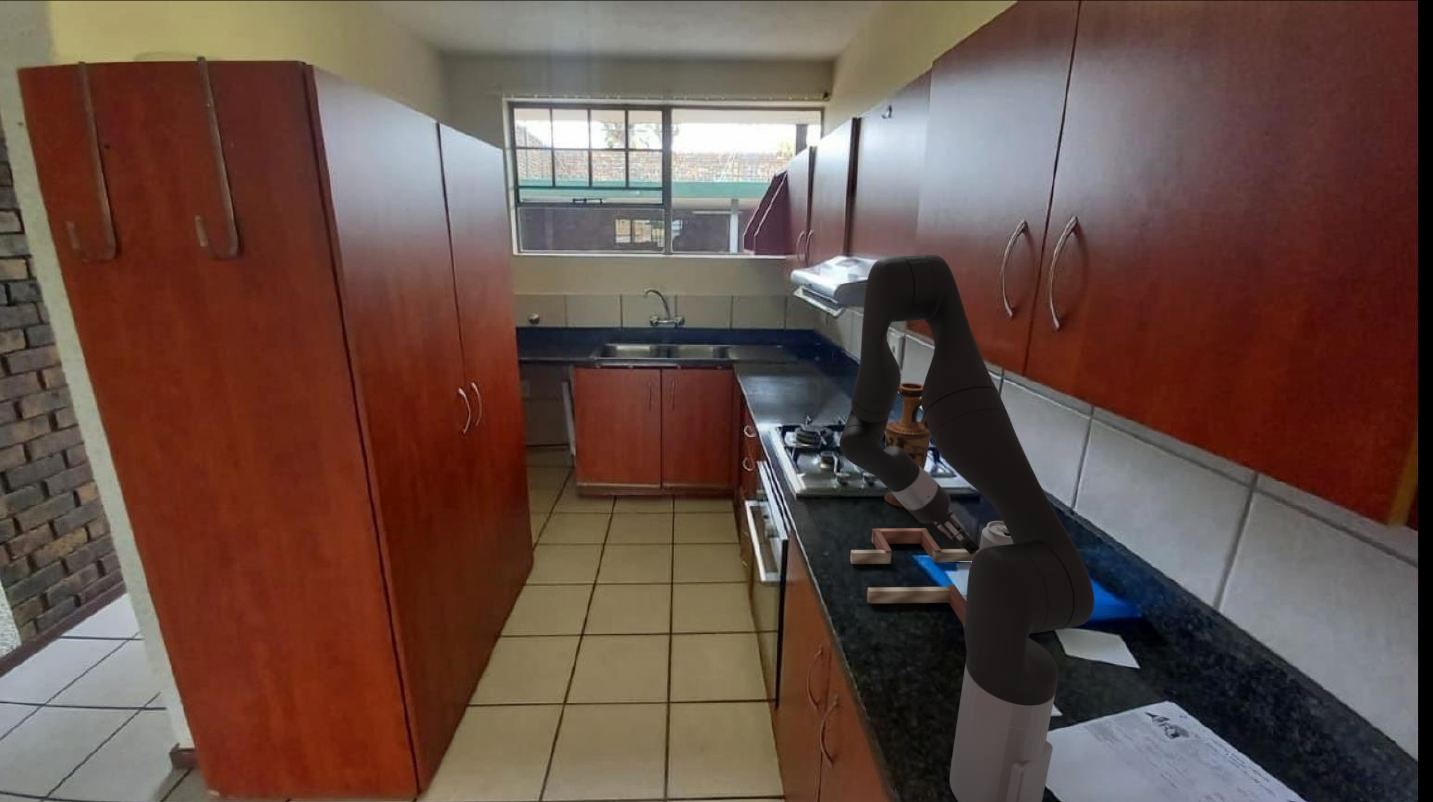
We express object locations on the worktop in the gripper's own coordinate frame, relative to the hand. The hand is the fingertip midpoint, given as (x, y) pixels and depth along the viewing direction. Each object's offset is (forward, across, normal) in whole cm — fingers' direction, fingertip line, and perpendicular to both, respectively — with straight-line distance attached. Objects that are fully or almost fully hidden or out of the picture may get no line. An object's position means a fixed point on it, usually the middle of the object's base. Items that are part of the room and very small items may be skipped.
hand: (974, 549), depth 114 cm
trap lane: (0, -1, +9) cm, 9 cm away
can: (+7, -2, +2) cm, 8 cm away
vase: (+3, +34, +6) cm, 35 cm away
